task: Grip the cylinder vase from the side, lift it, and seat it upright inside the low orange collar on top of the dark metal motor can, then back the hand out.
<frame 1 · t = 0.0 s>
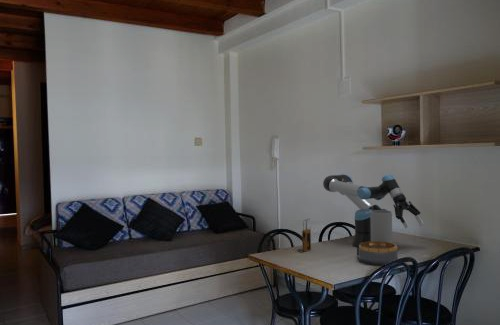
hand: (414, 226, 268), 15 cm above the table, tool tilted 35°, fingers open, 13 cm apart
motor: (378, 260, 247), on the table
cylinder vase: (381, 253, 266), on the table
multimeter: (301, 250, 278), on the table
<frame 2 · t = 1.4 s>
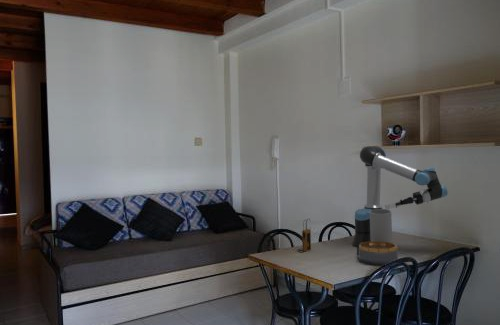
hand: (387, 206, 270), 27 cm above the table, tool tilted 75°, fingers open, 13 cm apart
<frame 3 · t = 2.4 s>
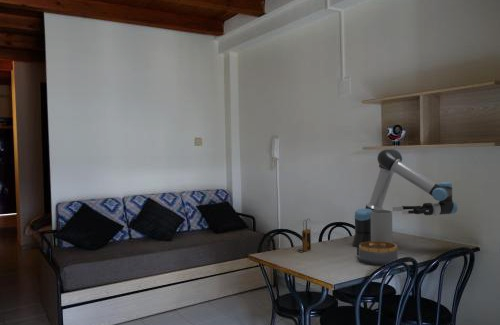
hand: (397, 210, 266), 25 cm above the table, tool horizontal, fingers open, 13 cm apart
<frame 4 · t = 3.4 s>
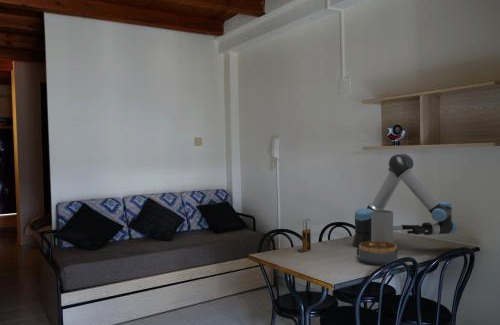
hand: (396, 230, 266), 13 cm above the table, tool horizontal, fingers open, 13 cm apart
nothing on the table moved.
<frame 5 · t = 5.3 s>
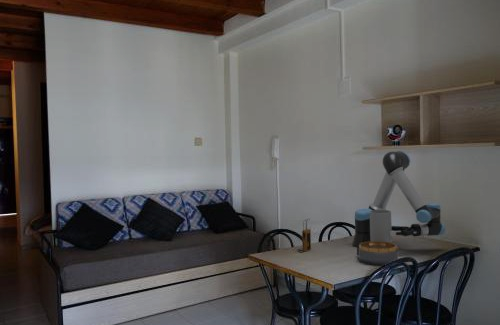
hand: (385, 231, 265), 13 cm above the table, tool horizontal, fingers open, 13 cm apart
cylinder vase: (381, 252, 266), on the table, touching gripper
everything else where it was.
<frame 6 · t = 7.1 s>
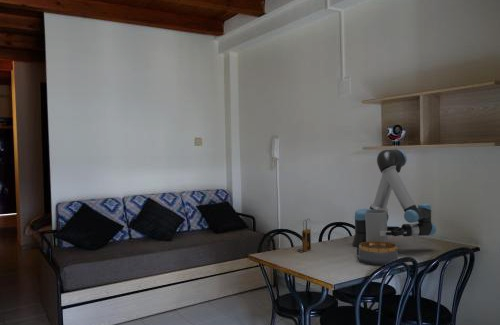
hand: (375, 231, 265), 13 cm above the table, tool horizontal, fingers closed on cylinder vase, 12 cm apart
cylinder vase: (377, 252, 266), on the table, touching gripper
everything else where it was.
when the fingers open (21 cm above the table, at t = 13.7 s): cylinder vase moves 1 cm, resting on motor.
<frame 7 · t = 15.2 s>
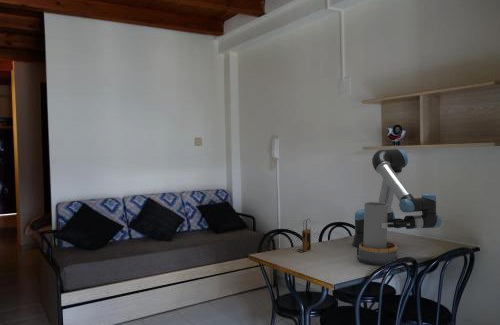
hand: (376, 223, 246), 21 cm above the table, tool horizontal, fingers open, 13 cm apart
cylinder vase: (374, 248, 247), point 7 cm above the table, touching gripper, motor
everything else where it was.
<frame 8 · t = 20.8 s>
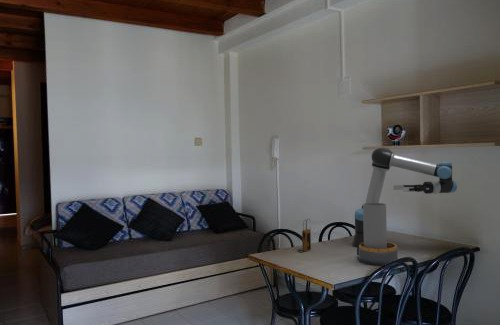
hand: (398, 188, 272), 38 cm above the table, tool horizontal, fingers open, 13 cm apart
cylinder vase: (375, 248, 247), point 7 cm above the table, touching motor
everything else where it was.
at the end: cylinder vase 1.5 cm off-centre on the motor, point 6.8 cm above the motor's base; cylinder vase tilted 0°; the gripper is holding nothing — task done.
